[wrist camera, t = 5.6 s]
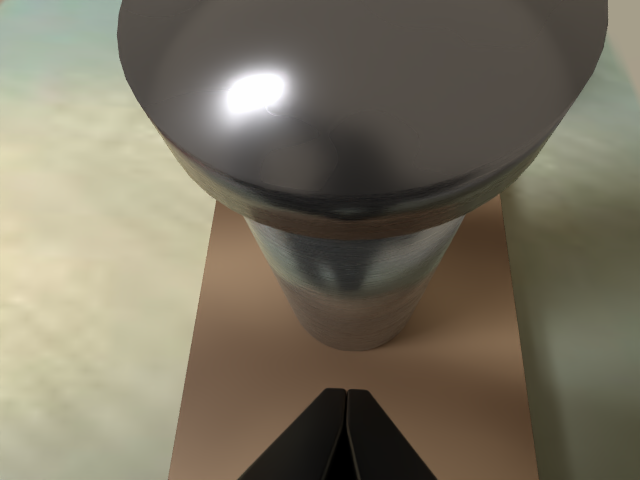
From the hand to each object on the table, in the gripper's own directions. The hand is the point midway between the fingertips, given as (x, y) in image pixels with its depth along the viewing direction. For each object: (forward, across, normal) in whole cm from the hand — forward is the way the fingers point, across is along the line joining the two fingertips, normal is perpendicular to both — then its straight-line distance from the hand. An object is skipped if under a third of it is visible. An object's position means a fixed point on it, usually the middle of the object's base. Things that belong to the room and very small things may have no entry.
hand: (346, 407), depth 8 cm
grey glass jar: (+7, 0, -1) cm, 7 cm away
